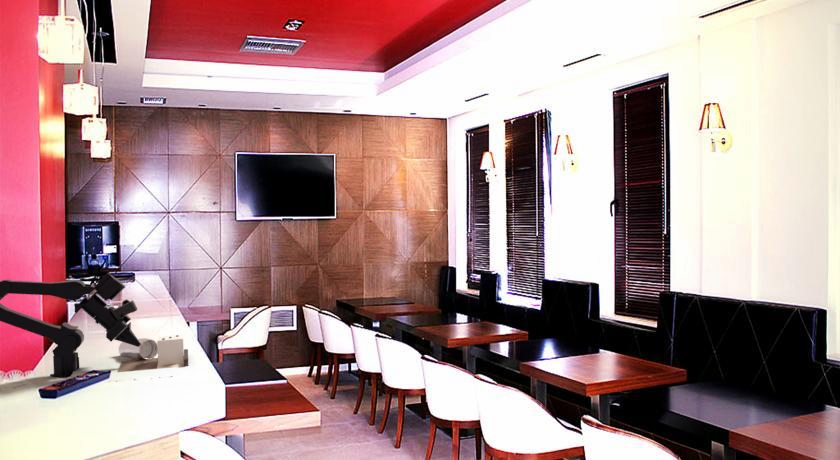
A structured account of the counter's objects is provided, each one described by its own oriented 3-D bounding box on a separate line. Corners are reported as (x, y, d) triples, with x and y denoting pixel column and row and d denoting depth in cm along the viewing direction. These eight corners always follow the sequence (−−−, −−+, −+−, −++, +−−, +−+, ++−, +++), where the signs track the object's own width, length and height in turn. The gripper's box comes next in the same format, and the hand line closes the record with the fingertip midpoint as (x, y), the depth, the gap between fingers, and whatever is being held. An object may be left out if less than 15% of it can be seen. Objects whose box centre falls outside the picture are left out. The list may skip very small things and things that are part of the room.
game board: (117, 376, 209) (116, 365, 209) (122, 364, 227) (121, 354, 226) (188, 369, 216) (188, 359, 216) (188, 358, 233) (187, 349, 233)
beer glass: (141, 351, 241) (163, 351, 231) (124, 363, 236) (145, 364, 226) (130, 334, 239) (152, 333, 229) (113, 346, 234) (134, 347, 224)
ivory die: (158, 365, 218) (157, 339, 218) (158, 360, 225) (158, 335, 225) (183, 362, 220) (183, 337, 220) (183, 358, 227) (183, 333, 227)
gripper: (117, 295, 209) (158, 330, 213) (122, 289, 227) (160, 322, 230) (88, 323, 207) (130, 358, 210) (96, 315, 224) (134, 347, 228)
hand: (139, 345), depth 220 cm, fingers closed
